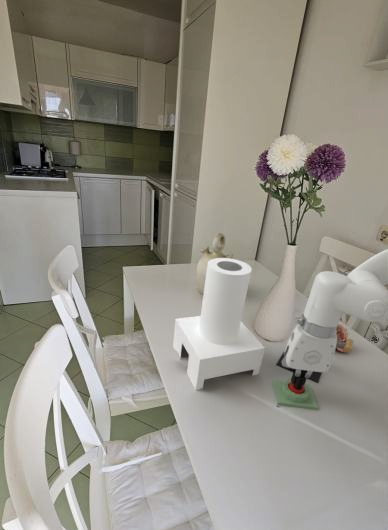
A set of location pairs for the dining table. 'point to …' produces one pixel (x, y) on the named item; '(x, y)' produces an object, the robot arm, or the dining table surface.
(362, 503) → the dining table surface
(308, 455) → the dining table surface
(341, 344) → the lever
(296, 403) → the button block
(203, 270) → the jug
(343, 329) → the flower
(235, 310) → the paper towel holder
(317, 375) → the bracket
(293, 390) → the button
